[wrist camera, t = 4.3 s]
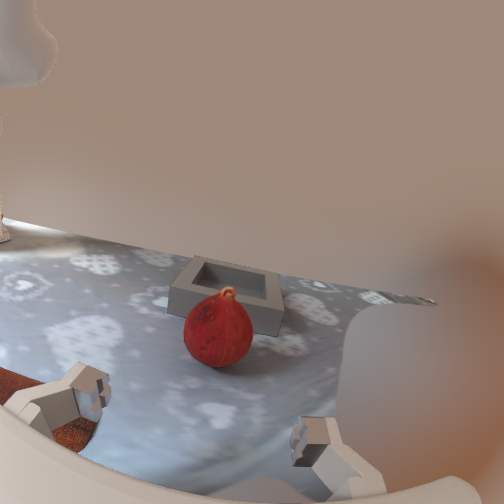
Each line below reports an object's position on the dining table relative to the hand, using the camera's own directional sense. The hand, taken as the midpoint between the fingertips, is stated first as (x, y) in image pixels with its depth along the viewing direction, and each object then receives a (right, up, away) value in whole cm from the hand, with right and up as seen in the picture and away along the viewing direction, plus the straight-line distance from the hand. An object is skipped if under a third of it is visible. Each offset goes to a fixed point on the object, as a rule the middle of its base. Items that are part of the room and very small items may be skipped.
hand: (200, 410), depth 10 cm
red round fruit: (-2, -4, +14) cm, 14 cm away
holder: (-1, 0, +27) cm, 27 cm away
